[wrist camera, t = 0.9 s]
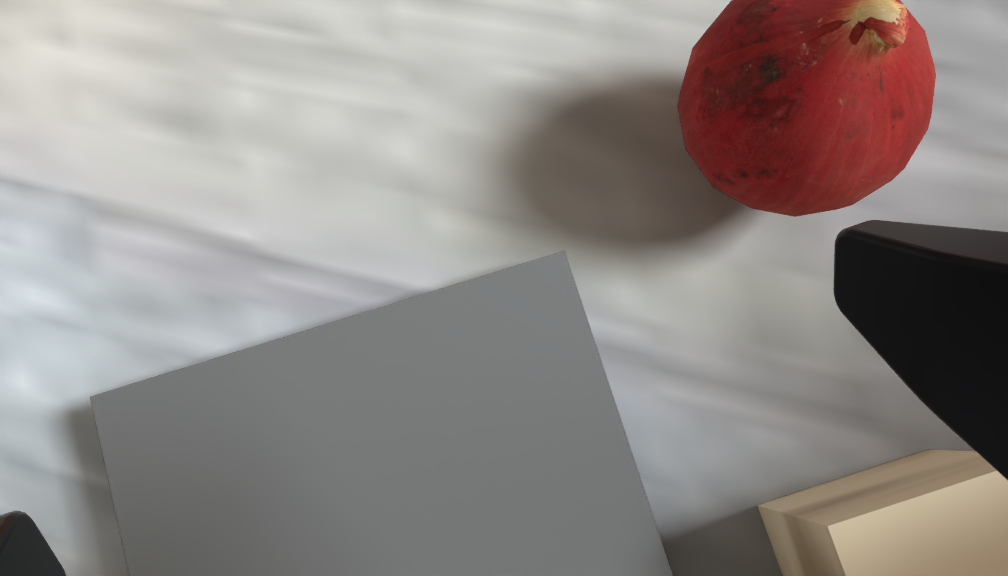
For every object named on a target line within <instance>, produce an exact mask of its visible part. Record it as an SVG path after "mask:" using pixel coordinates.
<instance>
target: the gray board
mask: <svg viewBox="0 0 1008 576" xmlns="http://www.w3.org/2000/svg"><path fill="white" fill-rule="evenodd" d="M90 399H91V403H92V408H93V413H94V417H95V422H96V426H97V431H98V435H99V440H100V445H101V449H102V454H103V458H104V463H105V467H106V472H107V477H108V481H109V486H110V490H111V495H112V499H113V504H114V509H115V513H116V518H117V522H118V527H119V531H120V536H121V541H122V545H123V550H124V554H125V559H126V563H127V568H128V573H129V576H673V574H672V571H671V568H670V565H669V562H668V559H667V556H666V553H665V550H664V547H663V544H662V541H661V538H660V535H659V532H658V529H657V526H656V523H655V520H654V517H653V514H652V511H651V508H650V505H649V502H648V499H647V496H646V493H645V490H644V487H643V484H642V481H641V478H640V475H639V472H638V469H637V466H636V463H635V460H634V457H633V454H632V451H631V448H630V445H629V442H628V439H627V437H626V434H625V431H624V428H623V425H622V422H621V419H620V416H619V413H618V410H617V407H616V404H615V401H614V398H613V395H612V392H611V389H610V386H609V383H608V380H607V377H606V374H605V371H604V368H603V365H602V362H601V359H600V356H599V353H598V350H597V347H596V344H595V341H594V338H593V335H592V332H591V329H590V326H589V323H588V320H587V317H586V314H585V311H584V308H583V305H582V302H581V299H580V296H579V293H578V290H577V287H576V284H575V281H574V278H573V275H572V272H571V269H570V266H569V263H568V260H567V257H566V254H565V251H562V252H559V253H555V254H552V255H549V256H546V257H542V258H539V259H536V260H533V261H529V262H526V263H523V264H520V265H516V266H513V267H510V268H507V269H504V270H500V271H497V272H494V273H491V274H487V275H484V276H481V277H478V278H474V279H471V280H468V281H465V282H461V283H458V284H455V285H452V286H448V287H445V288H442V289H439V290H435V291H432V292H429V293H426V294H422V295H419V296H416V297H413V298H409V299H406V300H403V301H400V302H396V303H393V304H390V305H387V306H383V307H380V308H377V309H374V310H370V311H367V312H364V313H361V314H357V315H354V316H351V317H348V318H344V319H341V320H338V321H335V322H331V323H328V324H325V325H322V326H318V327H315V328H312V329H309V330H305V331H302V332H299V333H296V334H292V335H289V336H286V337H283V338H279V339H276V340H273V341H270V342H266V343H263V344H260V345H257V346H253V347H250V348H247V349H244V350H240V351H237V352H234V353H231V354H227V355H224V356H221V357H218V358H214V359H211V360H208V361H205V362H201V363H198V364H195V365H192V366H188V367H185V368H182V369H179V370H176V371H172V372H169V373H166V374H163V375H159V376H156V377H153V378H150V379H146V380H143V381H140V382H137V383H133V384H130V385H127V386H124V387H120V388H117V389H114V390H111V391H107V392H104V393H101V394H98V395H94V396H91V397H90Z"/></svg>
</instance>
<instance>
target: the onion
mask: <svg viewBox="0 0 1008 576" xmlns="http://www.w3.org/2000/svg"><path fill="white" fill-rule="evenodd" d="M935 78H936V73H935V67H934V63H933V59H932V56H931V52H930V48H929V45H928V41H927V37H926V33H925V30H924V29H923V28H922V27H921V26H920V24H919V23H918V22H917V21H916V19H915V18H914V17H913V16H912V14H911V13H910V12H909V11H908V10H907V8H906V6H905V5H903V3H902V2H901V1H900V0H732V1H731V2H730V3H729V4H728V5H727V6H726V8H725V9H724V10H723V11H722V13H721V14H720V15H719V16H718V17H717V19H716V20H715V21H714V22H713V23H712V25H711V26H710V27H709V28H708V29H707V31H706V32H705V33H704V34H703V36H702V37H701V38H700V39H699V41H698V42H697V43H696V44H695V46H694V47H693V49H692V52H691V56H690V59H689V63H688V66H687V70H686V73H685V77H684V80H683V84H682V87H681V91H680V95H679V100H678V106H677V107H678V112H679V117H680V122H681V127H682V133H683V138H684V143H685V148H686V151H687V152H688V154H689V155H690V156H691V158H692V159H693V160H694V162H695V163H696V164H697V166H698V167H699V169H700V170H701V171H702V173H703V174H704V175H705V177H706V178H707V179H708V181H709V182H710V183H711V185H712V186H713V187H714V188H716V189H718V190H719V191H721V192H723V193H725V194H727V195H728V196H730V197H732V198H734V199H736V200H738V201H739V202H741V203H743V204H745V205H747V206H748V207H750V208H752V209H757V210H762V211H768V212H773V213H778V214H784V215H789V216H794V217H795V216H801V215H807V214H812V213H818V212H824V211H830V210H836V209H840V208H843V207H846V206H850V205H853V204H854V203H856V202H858V201H859V200H861V199H862V198H864V197H866V196H867V195H869V194H871V193H872V192H874V191H875V190H877V189H879V188H880V187H882V186H883V185H885V184H887V183H888V182H890V181H892V180H893V179H894V178H895V177H896V176H897V175H898V174H899V173H900V172H901V171H902V170H903V169H904V168H905V167H906V165H907V163H908V162H909V160H910V158H911V157H912V155H913V153H914V152H915V150H916V148H917V146H918V145H919V143H920V141H921V140H922V138H923V136H924V135H925V133H926V131H927V130H928V126H929V122H930V118H931V113H932V105H933V96H934V87H935Z"/></svg>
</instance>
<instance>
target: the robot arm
mask: <svg viewBox="0 0 1008 576" xmlns="http://www.w3.org/2000/svg"><path fill="white" fill-rule="evenodd" d="M834 297H835V301H836V303H837V306H838V307H839V309H840V311H841V312H842V313H843V315H844V316H845V317H846V318H847V319H848V320H849V321H850V322H851V324H852V325H853V326H854V327H855V328H856V329H857V330H858V331H859V332H860V334H861V335H862V336H863V337H864V338H865V339H866V340H867V341H868V343H869V344H870V345H871V346H872V347H873V348H874V349H875V350H876V351H877V353H878V354H879V355H880V356H881V357H882V358H883V359H884V360H885V362H886V363H887V364H888V365H889V366H890V367H891V368H892V369H893V370H894V372H895V373H896V374H897V375H898V376H899V377H900V378H901V379H902V380H903V382H904V383H905V384H906V385H907V386H908V387H909V388H910V389H911V390H912V391H913V392H914V394H915V395H916V396H917V397H918V398H919V399H920V400H921V401H922V402H923V403H924V404H925V405H926V406H927V407H928V408H929V409H930V410H931V411H932V412H933V413H934V414H936V415H937V416H938V417H939V418H940V419H941V420H942V421H943V422H944V423H945V424H946V425H947V426H949V427H950V428H951V429H952V430H953V431H954V432H955V433H956V434H957V435H958V436H959V437H961V438H962V439H963V440H964V441H965V442H966V443H967V444H968V445H969V446H970V447H972V448H973V449H974V450H975V451H976V452H977V453H978V454H979V455H980V456H981V457H982V458H984V459H985V460H986V461H987V462H988V463H989V464H990V465H991V466H992V467H993V468H995V469H996V470H997V471H998V472H999V473H1000V474H1001V475H1002V476H1003V477H1004V478H1005V479H1007V480H1008V232H1001V231H990V230H979V229H968V228H957V227H946V226H935V225H924V224H913V223H902V222H891V221H880V220H870V221H866V222H863V223H860V224H857V225H854V226H851V227H848V228H846V229H843V230H842V231H841V232H840V233H839V234H838V235H837V238H836V240H835V253H834ZM0 576H66V574H65V571H64V569H63V567H62V566H61V564H60V563H59V561H58V559H57V558H56V556H55V555H54V553H53V551H52V550H51V548H50V547H49V545H48V543H47V542H46V540H45V539H44V537H43V536H42V534H41V532H40V531H39V529H38V528H37V526H36V524H35V523H34V521H33V520H32V519H31V518H30V517H29V516H28V515H27V514H26V513H24V512H21V511H13V512H9V513H6V514H4V515H1V516H0Z"/></svg>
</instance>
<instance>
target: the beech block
mask: <svg viewBox="0 0 1008 576" xmlns="http://www.w3.org/2000/svg"><path fill="white" fill-rule="evenodd" d="M758 508H759V511H760V514H761V517H762V520H763V522H764V525H765V528H766V531H767V534H768V536H769V539H770V542H771V545H772V548H773V550H774V553H775V556H776V559H777V562H778V564H779V567H780V570H781V573H782V576H1008V480H1007V479H1005V478H1004V477H1003V476H1002V475H1001V474H1000V473H999V472H998V471H997V470H996V469H995V468H993V467H992V466H991V465H990V464H989V463H988V462H987V461H986V460H985V459H984V458H982V457H981V456H980V455H979V454H978V453H977V452H976V451H953V450H930V449H929V450H925V451H922V452H919V453H916V454H913V455H910V456H907V457H904V458H901V459H898V460H895V461H892V462H889V463H886V464H883V465H879V466H876V467H873V468H870V469H867V470H864V471H861V472H858V473H855V474H852V475H849V476H846V477H843V478H840V479H836V480H833V481H830V482H827V483H824V484H821V485H818V486H815V487H812V488H809V489H806V490H803V491H800V492H797V493H793V494H790V495H787V496H784V497H781V498H778V499H775V500H772V501H769V502H766V503H763V504H760V505H758Z"/></svg>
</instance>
